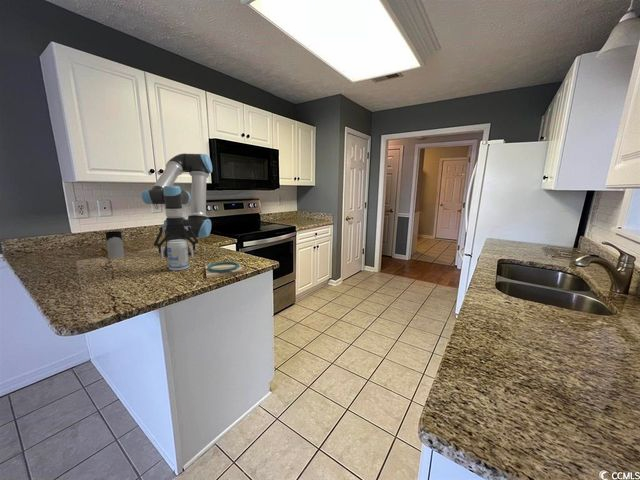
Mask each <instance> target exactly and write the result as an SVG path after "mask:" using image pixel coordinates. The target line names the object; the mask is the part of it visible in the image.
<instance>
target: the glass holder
mask: <svg viewBox="0 0 640 480" xmlns="http://www.w3.org/2000/svg"><path fill="white" fill-rule="evenodd" d="M104 234H105V242H106V250H107V254H108V255H107V258H108V259H118V258H120V259H121V258H124V257H126V254H125V246H124V241H123V236H122V235H123V234H122V232H121V231H120V230H115V231H114V230H113V231H106V232H104Z"/></svg>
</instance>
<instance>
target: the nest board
mask: <svg viewBox="0 0 640 480" xmlns="http://www.w3.org/2000/svg"><path fill="white" fill-rule="evenodd" d="M204 266H205V274H206V275H205V278H206V279H211V278H219V277H228V276H236V275H243V274H244V273H245V272H244V269H243V267H242V266H241V264H240V262H239V261H219V262H213V263H211V264H205V265H204Z"/></svg>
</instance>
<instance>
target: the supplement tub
mask: <svg viewBox="0 0 640 480" xmlns="http://www.w3.org/2000/svg"><path fill="white" fill-rule="evenodd" d="M188 246H189V244H188V240H187V239H186V240H170V241H167V254H168V257H167V264H168V269H169V270H170V271H175V272H176V271H183V270H187V269H188V268H189V267H190V258H189V254H188Z"/></svg>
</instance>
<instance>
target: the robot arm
mask: <svg viewBox="0 0 640 480" xmlns="http://www.w3.org/2000/svg"><path fill="white" fill-rule="evenodd" d="M183 173H189V175H190V176H191V190H190V191H191V193H190V192H189V191H187V190H184V189H181V186H179V185H174V184H175V182H176V181H177V179H178V177H179V176H180V175H182V174H183ZM211 173H213V164H212V160H211V158H210V156H209V155H208V154H204V153H180V154H176V155H175V156H173V157H172V158H170V159H168V160H167V162H166V164H165V169H164V170H163V172H162V173H161V174H160V176H159V177H158V179H157V180H156V182H155V183H154V185H153V186H152V187H151V189H149V188H148V189H143V191H142V192H141V199H142V202H144V204H146V205H164V208H165V209H164V210H165V217H166V218H165V220H164V221H163V226H159V232H158V235H157V236H156V238H155V241H154V243H153V246H154V247H157V249H158V254H160V255H161V260H165V257H166V258H168V254H167V241H170V240H187V242H190V245H188V255H190V254H191V257H192V258H194V251H196V244H199V240H198V239H201V238H202V239H203V238H207V237H209V236H210V235H211V230H212V221H211V219H209V216H208V215H207V178H209V176H210V174H211ZM188 203H190V214H189V215H188V216H187V219H186V218H185V217H184V213H183V205H186V204H188ZM163 233H164V238H163V239H162V240H161V241H160V239H161V237H162V235H163ZM159 241H160V242H159ZM163 244H165V245H163Z"/></svg>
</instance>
